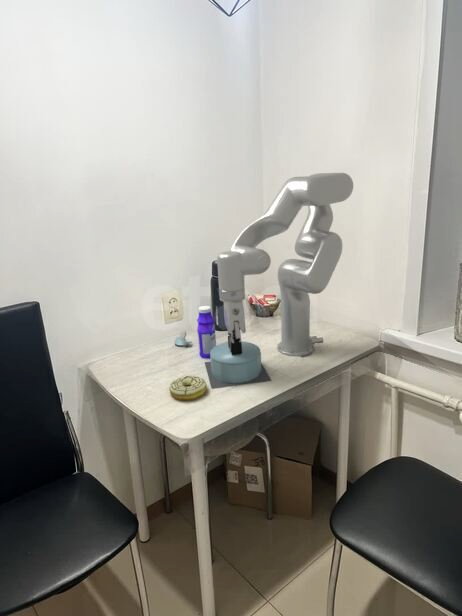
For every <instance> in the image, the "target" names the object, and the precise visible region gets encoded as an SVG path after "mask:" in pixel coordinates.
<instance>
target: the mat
mask: <svg viewBox="0 0 462 616" xmlns="http://www.w3.org/2000/svg"><path fill="white" fill-rule="evenodd" d="M204 365H205V370H206V374H207V377H208V381H209V384H210V385H209V386H210V389H211V390H213V389H220V388H228V387H237V386H243V385H251V384H258V383H259V384H260V383H266V382H272V381H273V380H272V378H271V377H270V375H269V373H268V371H267V370H266V368H265V366H264V364H263V362H261V372H260V374H259V376H258V377H256V378H254V379H252V380H250V381H248V382H241V383H228V382H221V381H219V380H217V379H216V378H214V377H213V375H212V371H211V360H210V361H205V362H204Z"/></svg>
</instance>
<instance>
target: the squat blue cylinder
mask: <svg viewBox="0 0 462 616" xmlns="http://www.w3.org/2000/svg"><path fill="white" fill-rule="evenodd" d="M233 337H234V336H233ZM229 342H230V348H229V347H228V341H227V342H226V341H225V342H223V343H219V344H216V346H215V347H214V348H212V350H211V351H210V358H209V360H210V361H211V371H212V375H213V377H214V378H216V379H217V380H219V381H221V382H228V383H241V382H248V381H250V380H252V379H254V378H256V377H258V376H259V374H260V372H261V363H262V353H261V348H260V347H259V346H258V345H257V344H255V343H252V342H249V341H242V340H241V342H242V354H237V355H232V354H231V342H232V340H231V337H229Z"/></svg>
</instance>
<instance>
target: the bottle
mask: <svg viewBox="0 0 462 616" xmlns="http://www.w3.org/2000/svg"><path fill="white" fill-rule="evenodd" d="M211 308H212V307H211V306H209V305H201V306H199V307H198V318H197V319H196V322H197V329H196V330H197V341H198V352H199V357H200V358H203V359H210V351H211V350H212V348H214V347H215V346H217V339H216V338H217V337H216V326H215V322H214V321H215V318H214V316H213V315H212V309H211Z"/></svg>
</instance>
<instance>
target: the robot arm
mask: <svg viewBox="0 0 462 616" xmlns="http://www.w3.org/2000/svg"><path fill="white" fill-rule="evenodd" d="M353 190H354V181H353V179H352V177H351V176H350V175H349V174H347V173H345V172H325V173H324V172H323V173H319V172H318V173H313V174H311V175H308V176H293V177H290V178H288V179H287V180H286V181H285V182H284V184H283V185H282V186H281V188H280V190H279V191H278V193H277V194H276V196H275V198H274V199H273V200H272V202H271V204H270V205H269V206H268V208H267V210H266V211H265V212H264V213H263V214H262V215H261V216H260V217H258V218H257V219H255V220H254V221H253V222H252V223H251V224H249V225H248V226H247V227H245V228H244V229H243V230H242V231H241V232H240V233H239V235H238V237H237V238H236V239H235V241H234V242H233V244H232V246H231V248H230V250H227V251H224V252H220V253H219V254H218V255H217V257H216V258H217V264H216V265H217V275H218V276H217V278H218V291H219V300H220V301H221V302H223V315H224V317H223V318H224V324H225V328H226V329H227V342H228V347H229V348H230V342H229V337H231V340H232V342H231V354H232V355H237V354H242V342H241V341H242V335H241V333H244V334H245V333H246V331H247V330H246V321H245V320H246V319H245V318H246V317H245V308H244V307H245V306H244V302H243V301H244V300H245V299H246V288H245V287H246V286H245V276H254V275H255V276H256V275H260V274H263V273H265V272H266V271H268V270H269V268H270V266H271V264H272V263H271V261H272V260H271V256H270V254H269V253H268V252H267V251H265V250H264V249H261V248H257V247H258V246H259V245H260V244H261V243H262V242H263V241H265V240H266V239H270V238H271V237H274V236H278V235H280V234H283V233H285V232H287V231H288V230H289V229H290V227H291V225H293V222H294V220H295V219H296V217H297V216H298V214H299V213H300V211H301V210H302V208H303V207H304V206H305V207H307V208H308V211H307V215H306V217H305V220H304V223H303V225H302V227H301V229H300V231H299V234H298V235H297V237H296V241H295V243H294V251H295V253H296V255H297V256H299V257H301V258H304V259H307V260H308V259H309V260H312V261H307V260H304V259H303V260H302V259H297V258H289V259H286V260H284V261H283V262H281V264H279V267H278V269H277V281H278V286H279V290H280V291H279V292H280V306H281V307H280V310H281V311H280V312H281V313H280V315H281V316H280V317H281V320H280V321H281V323H280V324H281V325H280V326H281V341H280V342H279V343H278V344H277V347H276V349H277V352H279V353H280V354H281V355H285V356H289V357H305V356H308V355H311V354H313V352H314V351H315V347H314V345H315V344H323V343H324V338H323V336H322V337H318V336H317V335H312V336H310V335H311V334H310V327H311V326H310V325H311V323H310V322H311V321H310V320H311V319H310V318H311V317H310V316H311V300H310V295H309V294H312V295H317V294H320V293H322V292H323V291H324V290H325V289H326V288H327V286H328V285H329V282H330V280H331V278H332V276H333V274H334V272H335V270H336V267H337V265H338V263H339V261H340V258H341V256H342V252H343V240H342V238H341V236H340V235H339V234H338V233H336V232H334V231H331V227H332V225H333V222H334V214H333V210H332V206H331V205H332V204H336V203H342V202H344V201H346V200H347V199H348V198H350V197H351V195H352V193H353ZM233 336H234V337H233Z"/></svg>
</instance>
